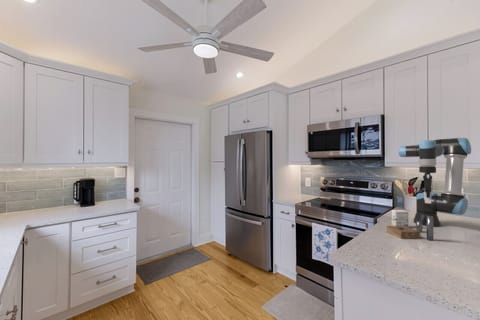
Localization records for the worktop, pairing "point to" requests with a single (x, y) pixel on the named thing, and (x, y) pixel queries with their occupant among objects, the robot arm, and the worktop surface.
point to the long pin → (430, 228)
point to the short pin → (419, 226)
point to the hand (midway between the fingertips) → (427, 201)
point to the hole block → (403, 232)
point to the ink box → (399, 218)
